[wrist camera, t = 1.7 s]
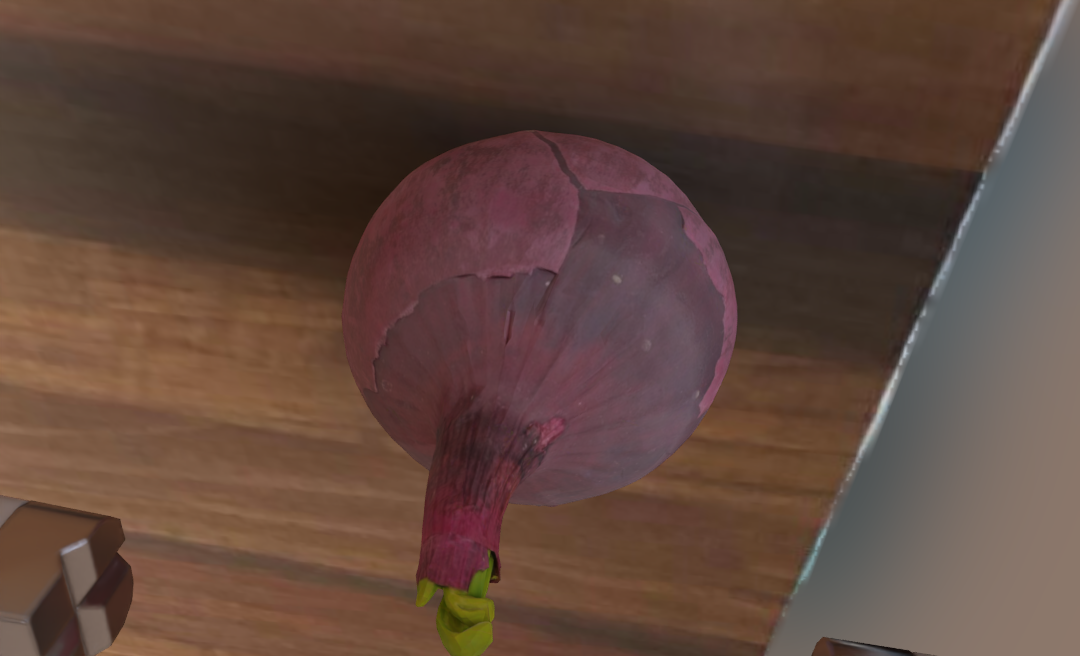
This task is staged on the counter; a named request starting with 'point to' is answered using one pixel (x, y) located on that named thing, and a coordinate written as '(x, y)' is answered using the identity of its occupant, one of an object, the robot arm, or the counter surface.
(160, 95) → the counter surface
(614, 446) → the vegetable
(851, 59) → the counter surface
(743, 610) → the counter surface
